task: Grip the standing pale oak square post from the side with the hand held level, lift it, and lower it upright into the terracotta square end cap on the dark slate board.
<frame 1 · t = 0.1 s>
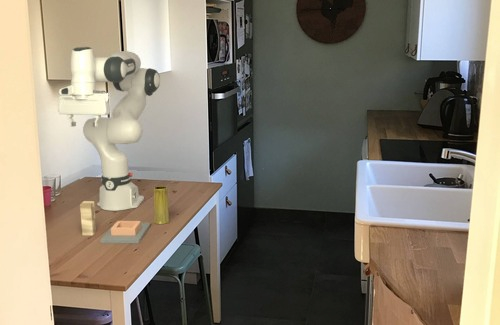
hand: (84, 126, 214), 39 cm above the table, tool pointing down, fingers open, 8 cm apart
vase: (161, 222, 223), on the table
cap board: (126, 233, 210), on the table
oak post: (89, 233, 211), on the table
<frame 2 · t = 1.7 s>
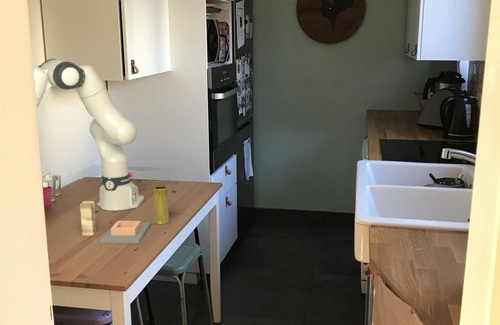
hand: (53, 181, 207), 20 cm above the table, tool horizontal, fingers open, 8 cm apart
nothing on the table moved.
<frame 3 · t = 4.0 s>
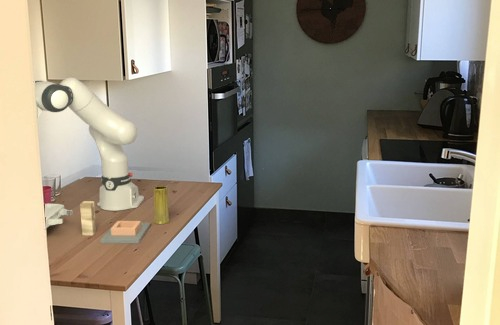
hand: (67, 216, 210), 6 cm above the table, tool horizontal, fingers open, 8 cm apart
nothing on the table moved.
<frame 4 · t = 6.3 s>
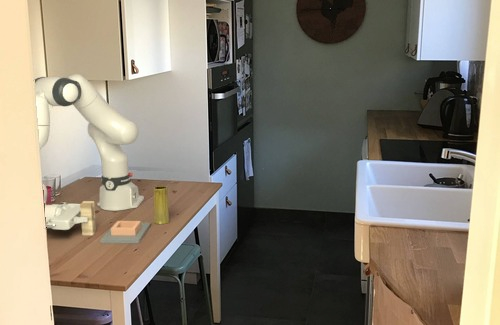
hand: (90, 216, 209), 7 cm above the table, tool horizontal, fingers closed on oak post, 4 cm apart
oak post: (89, 233, 211), on the table, touching gripper
everything else where it was.
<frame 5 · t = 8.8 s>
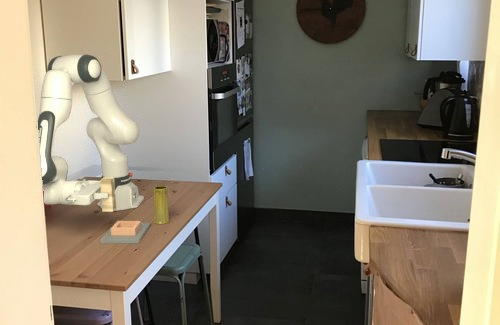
hand: (110, 193, 207), 16 cm above the table, tool horizontal, fingers closed on oak post, 4 cm apart
oak post: (109, 209, 208), point 9 cm above the table, touching gripper
everything else where it was.
when the fingers open (9 cm above the table, at t = 11.4 s): oak post drops 1 cm, resting on cap board.
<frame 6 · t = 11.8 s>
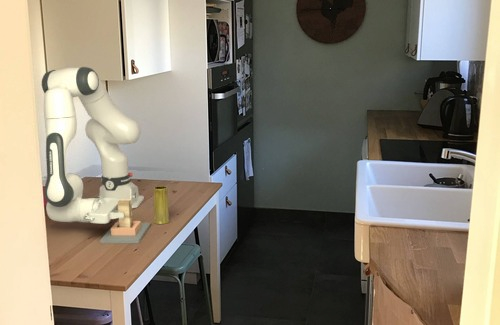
hand: (127, 210, 208), 9 cm above the table, tool horizontal, fingers open, 8 cm apart
oak post: (126, 231, 210), point 1 cm above the table, touching cap board
everything else where it was.
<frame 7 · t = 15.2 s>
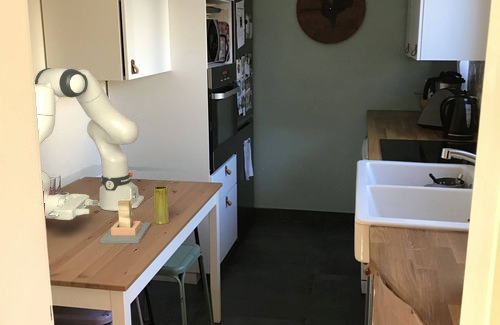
hand: (93, 206, 209), 10 cm above the table, tool horizontal, fingers open, 8 cm apart
nothing on the table moved.
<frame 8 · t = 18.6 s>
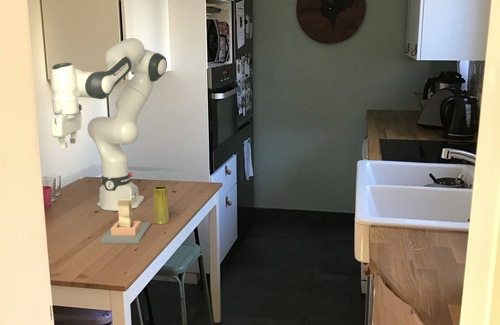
hand: (68, 145, 207), 33 cm above the table, tool pointing down, fingers open, 8 cm apart
nothing on the table moved.
at the end: oak post 0.0 cm off-centre on the cap board, point 1.0 cm above the cap board's base; oak post tilted 0°; the gripper is holding nothing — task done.
